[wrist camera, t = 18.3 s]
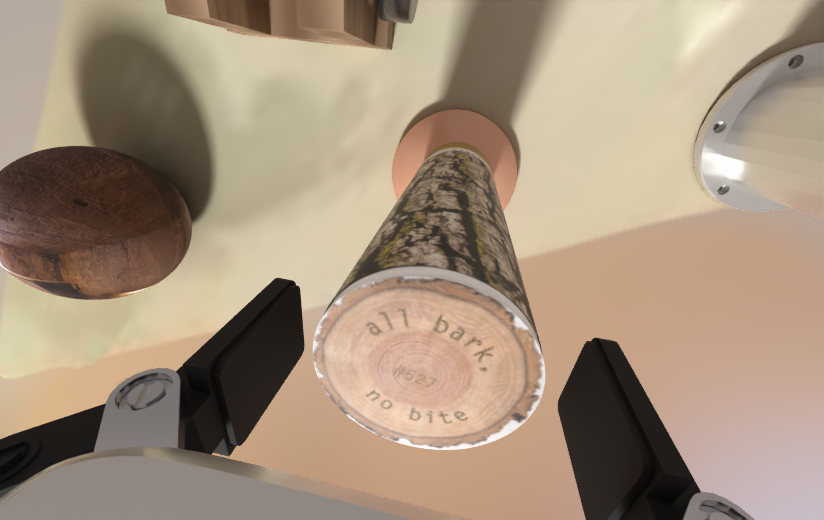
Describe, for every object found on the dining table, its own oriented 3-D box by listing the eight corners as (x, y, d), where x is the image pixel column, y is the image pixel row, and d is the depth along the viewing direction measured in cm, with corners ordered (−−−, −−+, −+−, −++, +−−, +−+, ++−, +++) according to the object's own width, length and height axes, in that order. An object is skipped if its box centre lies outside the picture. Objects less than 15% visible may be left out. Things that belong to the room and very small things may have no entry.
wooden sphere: (82, 135, 37) (-133, 158, 24) (201, 138, 35) (37, 167, 22) (133, 253, 44) (-11, 322, 31) (235, 262, 42) (127, 340, 29)
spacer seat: (530, 117, 29) (532, 118, 28) (500, 239, 35) (500, 243, 34) (399, 102, 30) (397, 102, 29) (390, 222, 36) (388, 225, 35)
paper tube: (436, 128, 30) (343, 233, 8) (504, 158, 30) (601, 340, 8) (410, 195, 33) (293, 402, 11) (472, 221, 33) (477, 474, 11)
